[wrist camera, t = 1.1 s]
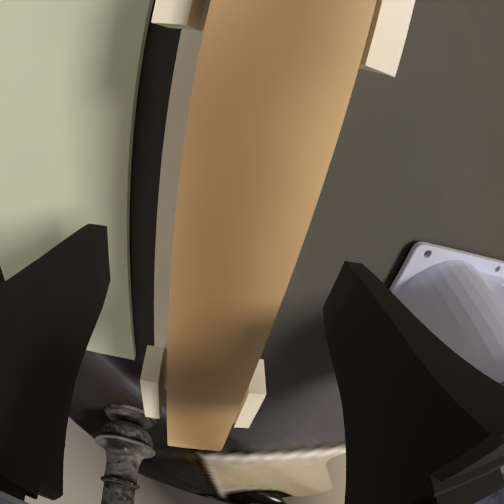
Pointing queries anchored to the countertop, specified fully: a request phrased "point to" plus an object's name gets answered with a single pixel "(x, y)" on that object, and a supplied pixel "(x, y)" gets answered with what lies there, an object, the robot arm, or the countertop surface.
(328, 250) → the countertop surface
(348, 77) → the oak bar
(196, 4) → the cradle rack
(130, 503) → the grey chess piece
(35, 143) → the sage mat
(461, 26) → the countertop surface
